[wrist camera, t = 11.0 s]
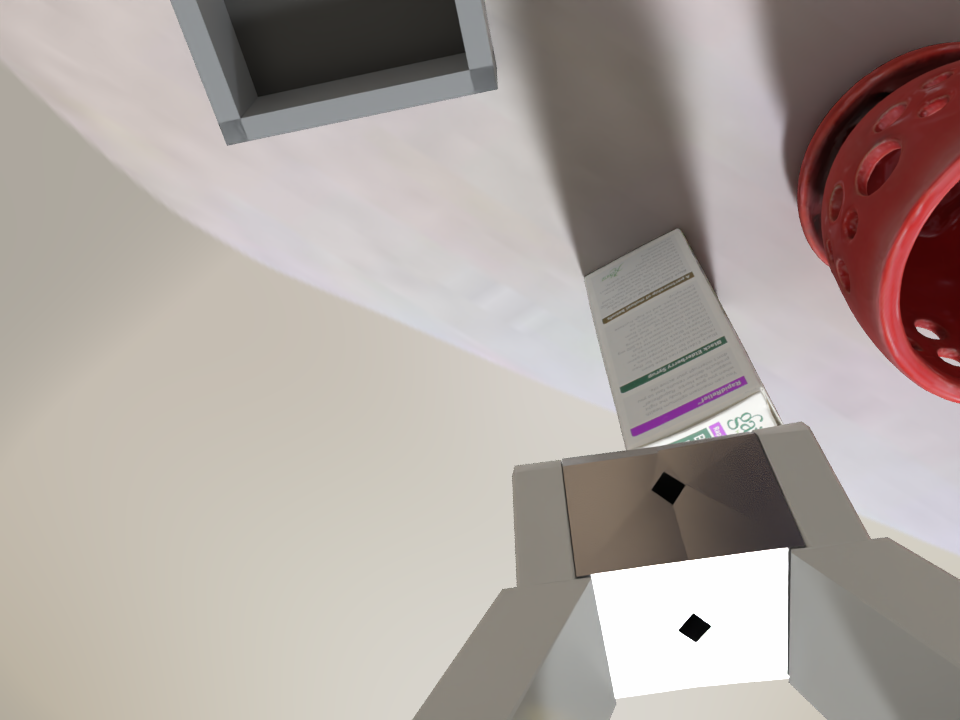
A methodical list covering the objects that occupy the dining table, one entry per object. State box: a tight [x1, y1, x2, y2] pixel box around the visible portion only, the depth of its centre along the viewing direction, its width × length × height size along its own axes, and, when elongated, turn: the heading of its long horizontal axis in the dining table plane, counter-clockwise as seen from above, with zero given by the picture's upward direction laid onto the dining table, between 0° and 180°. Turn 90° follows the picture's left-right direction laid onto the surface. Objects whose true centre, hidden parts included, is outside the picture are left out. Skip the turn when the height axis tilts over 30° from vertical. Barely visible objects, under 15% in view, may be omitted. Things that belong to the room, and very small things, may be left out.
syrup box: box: [584, 229, 784, 450], centre depth 37 cm, size 6×6×14 cm
